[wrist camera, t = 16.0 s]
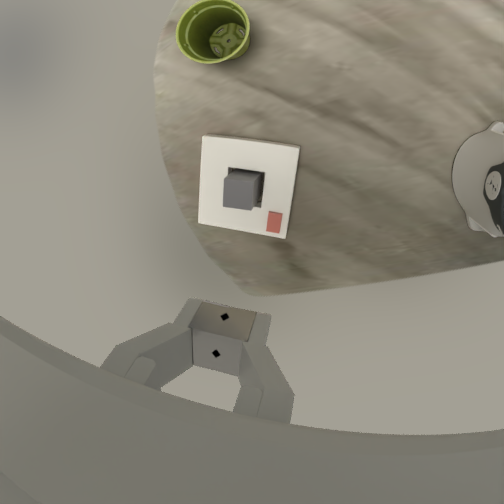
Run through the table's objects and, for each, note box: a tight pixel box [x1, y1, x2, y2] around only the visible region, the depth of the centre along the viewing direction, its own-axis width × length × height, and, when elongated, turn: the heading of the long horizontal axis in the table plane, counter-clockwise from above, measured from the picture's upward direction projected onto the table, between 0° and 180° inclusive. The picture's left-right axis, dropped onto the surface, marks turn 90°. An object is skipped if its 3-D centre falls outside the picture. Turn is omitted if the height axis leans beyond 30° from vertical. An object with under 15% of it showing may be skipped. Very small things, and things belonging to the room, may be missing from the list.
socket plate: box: [198, 134, 300, 239], centre depth 46 cm, size 14×14×3 cm
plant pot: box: [176, 0, 250, 64], centre depth 33 cm, size 9×9×9 cm
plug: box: [223, 168, 263, 211], centre depth 44 cm, size 4×4×7 cm
